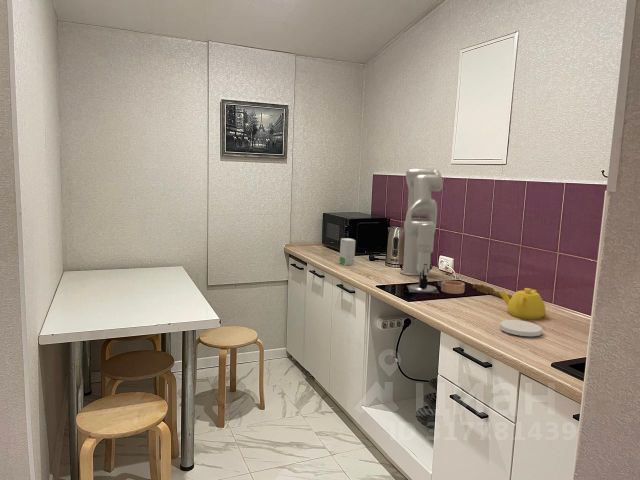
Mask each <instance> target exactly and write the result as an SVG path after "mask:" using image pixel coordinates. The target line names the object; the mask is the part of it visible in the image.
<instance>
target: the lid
mask: <svg viewBox="0 0 640 480" xmlns="http://www.w3.org/2000/svg"><path fill="white" fill-rule="evenodd" d="M419 277H420V276H419ZM420 279H421V277H420ZM409 285H410V286H409V289H411V290H413V291H418V292H417V293H421V292H435V291H436V290H438V288H437V287H436V286H435V287H434V286H433V285H429V284H427V287H420V280H419V279H418V283H415V284H409ZM409 289H408V290H409Z"/></svg>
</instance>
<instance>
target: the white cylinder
mask: <svg viewBox="0 0 640 480" xmlns="http://www.w3.org/2000/svg"><path fill="white" fill-rule="evenodd" d="M356 241H357V240H355V239H354V238H349V237H347V238H344V237H343V238H340V245H339V246H340V247H339V260H338V261H339V262H340V263H339V264H341V263H342V264H341V265H343V264H344V265H343V266H345V265H346V266H354V265H355V254H356V244H357V243H356ZM353 264H354V265H353Z"/></svg>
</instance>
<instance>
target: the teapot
mask: <svg viewBox="0 0 640 480" xmlns="http://www.w3.org/2000/svg"><path fill="white" fill-rule="evenodd" d="M523 289H524V290H517V291H516V292H515V293H513V295H512V298H511V299H510V298H509V297H508V295H509V294H508V295H507V292H506V291H505V290H502V291H499V292H500V295H501V296H502V298H503V299H502V298H501V299H502V300H503V301H504V303H505V304H506V306H507V311H508V313H509V314H510V315H511V316H514V317H516V318H519V319H524V320H540V319H541V318H543V317H544V316H546V312H547V311H546V305H545V302H544V300H543V298H542V297H541V295H540V294H539V293H538V292H537V289H532V288H530V287H529V288H528V287H525V288H523Z"/></svg>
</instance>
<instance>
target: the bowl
mask: <svg viewBox="0 0 640 480" xmlns="http://www.w3.org/2000/svg"><path fill="white" fill-rule="evenodd" d="M440 285H441V287H440V290H441V292H443V293H446V294H451V295H452V294H454V295H459V294H464V293H465V286H466V284H465V282H462V281H458V280H443V281H441V284H440Z"/></svg>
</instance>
